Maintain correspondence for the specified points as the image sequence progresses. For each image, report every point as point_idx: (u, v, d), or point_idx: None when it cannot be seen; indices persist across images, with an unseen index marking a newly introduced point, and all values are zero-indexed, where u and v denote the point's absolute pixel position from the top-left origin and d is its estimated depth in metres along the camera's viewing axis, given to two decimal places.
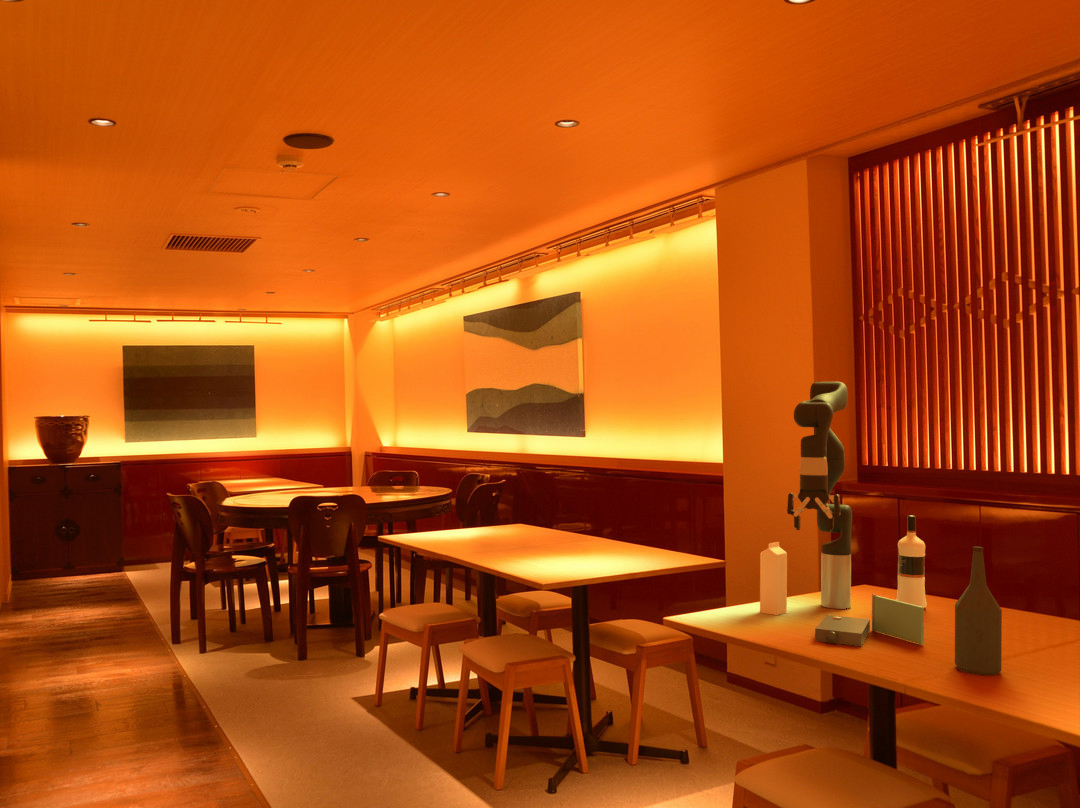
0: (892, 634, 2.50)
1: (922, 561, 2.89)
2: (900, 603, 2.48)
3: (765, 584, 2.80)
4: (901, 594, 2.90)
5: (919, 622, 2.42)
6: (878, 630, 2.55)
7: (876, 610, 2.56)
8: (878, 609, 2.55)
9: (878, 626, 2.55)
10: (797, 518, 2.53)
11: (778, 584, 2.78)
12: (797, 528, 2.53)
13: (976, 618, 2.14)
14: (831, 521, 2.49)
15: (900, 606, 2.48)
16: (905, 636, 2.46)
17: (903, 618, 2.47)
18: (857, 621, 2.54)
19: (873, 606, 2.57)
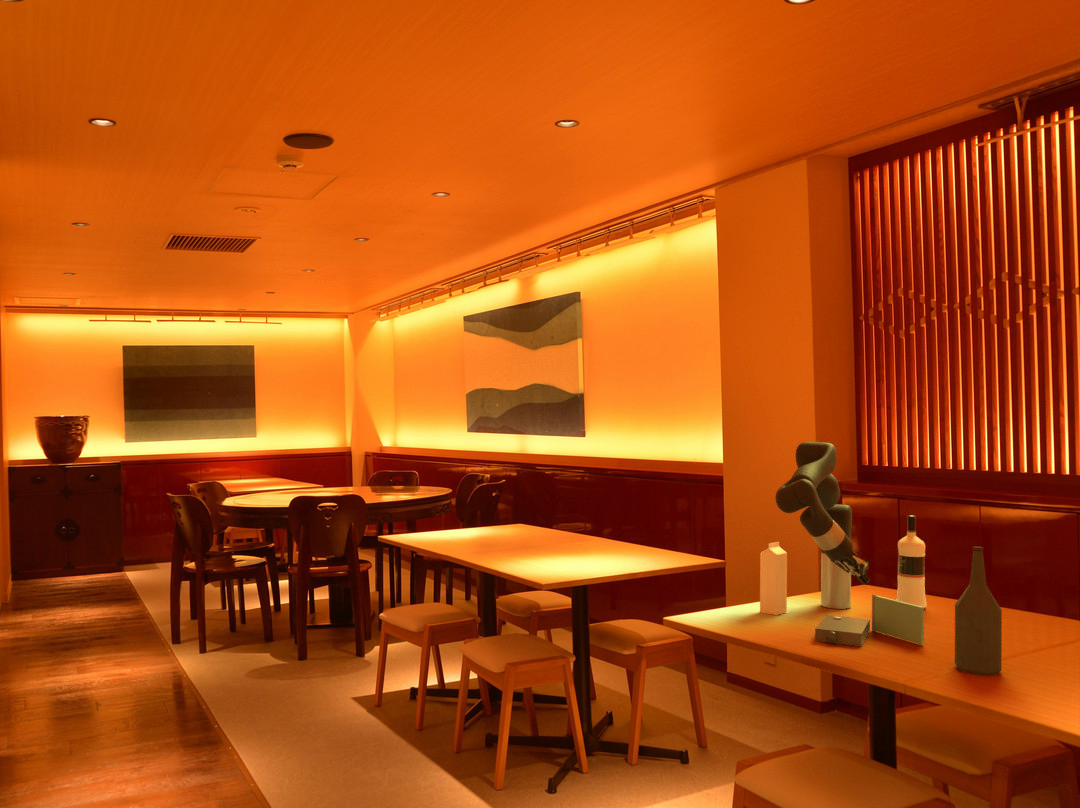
0: (892, 634, 2.50)
1: (922, 561, 2.89)
2: (900, 603, 2.48)
3: (765, 584, 2.80)
4: (901, 594, 2.90)
5: (919, 622, 2.42)
6: (878, 630, 2.55)
7: (876, 610, 2.56)
8: (878, 609, 2.55)
9: (878, 626, 2.55)
10: (856, 576, 2.42)
11: (778, 584, 2.78)
12: (862, 583, 2.42)
13: (976, 618, 2.14)
14: (861, 577, 2.41)
15: (900, 606, 2.48)
16: (905, 636, 2.46)
17: (903, 618, 2.47)
18: (857, 621, 2.54)
19: (873, 606, 2.57)
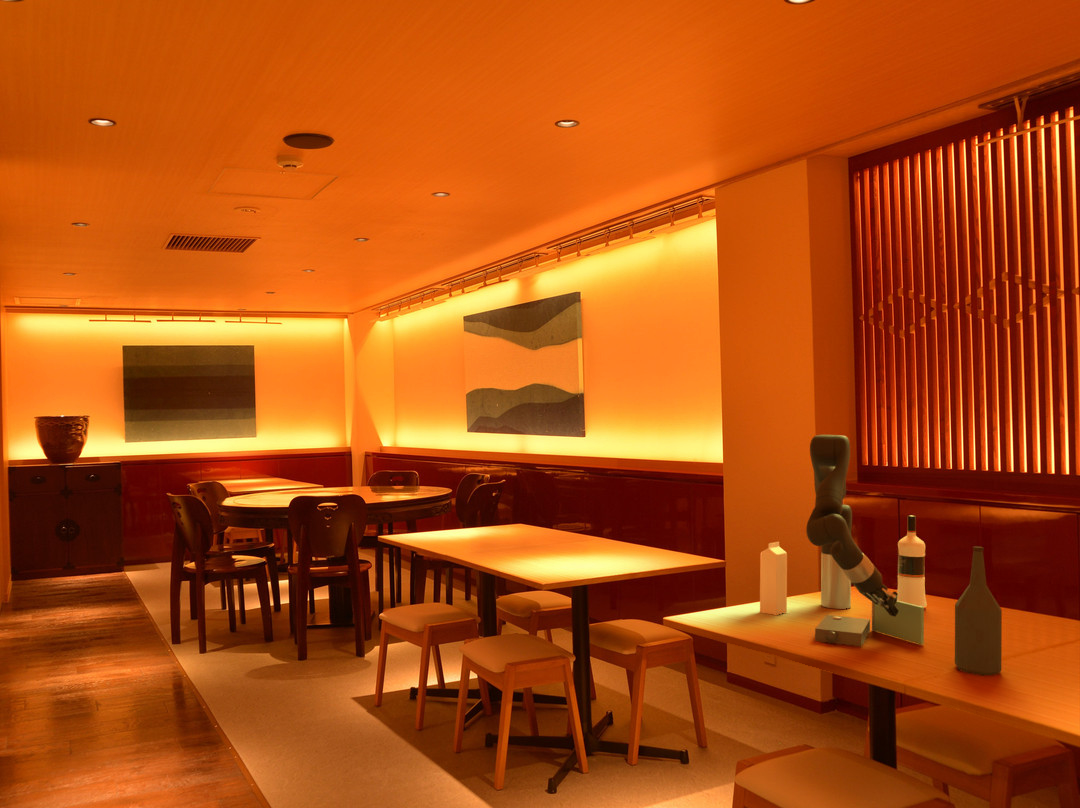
0: (892, 634, 2.50)
1: (922, 561, 2.89)
2: (900, 603, 2.48)
3: (765, 584, 2.80)
4: (901, 594, 2.90)
5: (919, 622, 2.42)
6: (878, 630, 2.55)
7: (876, 610, 2.56)
8: (878, 609, 2.55)
9: (878, 626, 2.55)
10: (885, 608, 2.45)
11: (777, 584, 2.78)
12: (890, 615, 2.46)
13: (976, 618, 2.14)
14: (890, 609, 2.44)
15: (900, 606, 2.48)
16: (905, 636, 2.46)
17: (903, 618, 2.47)
18: (857, 621, 2.54)
19: (873, 606, 2.57)
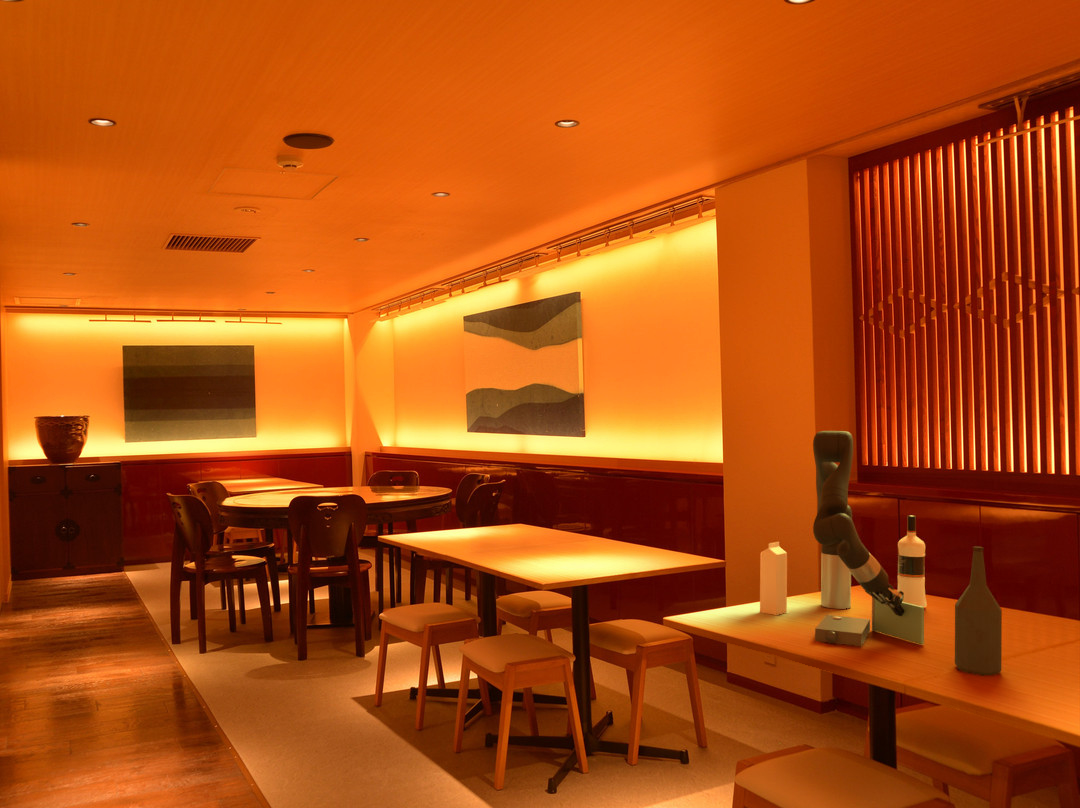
0: (892, 634, 2.50)
1: (922, 561, 2.89)
2: None
3: (765, 584, 2.80)
4: None
5: (919, 622, 2.42)
6: (878, 630, 2.55)
7: (876, 610, 2.56)
8: (878, 609, 2.55)
9: (878, 626, 2.55)
10: (891, 608, 2.46)
11: (778, 584, 2.78)
12: (896, 614, 2.47)
13: (976, 618, 2.14)
14: (896, 609, 2.45)
15: None
16: (905, 636, 2.46)
17: (903, 618, 2.47)
18: (857, 621, 2.54)
19: (873, 606, 2.57)
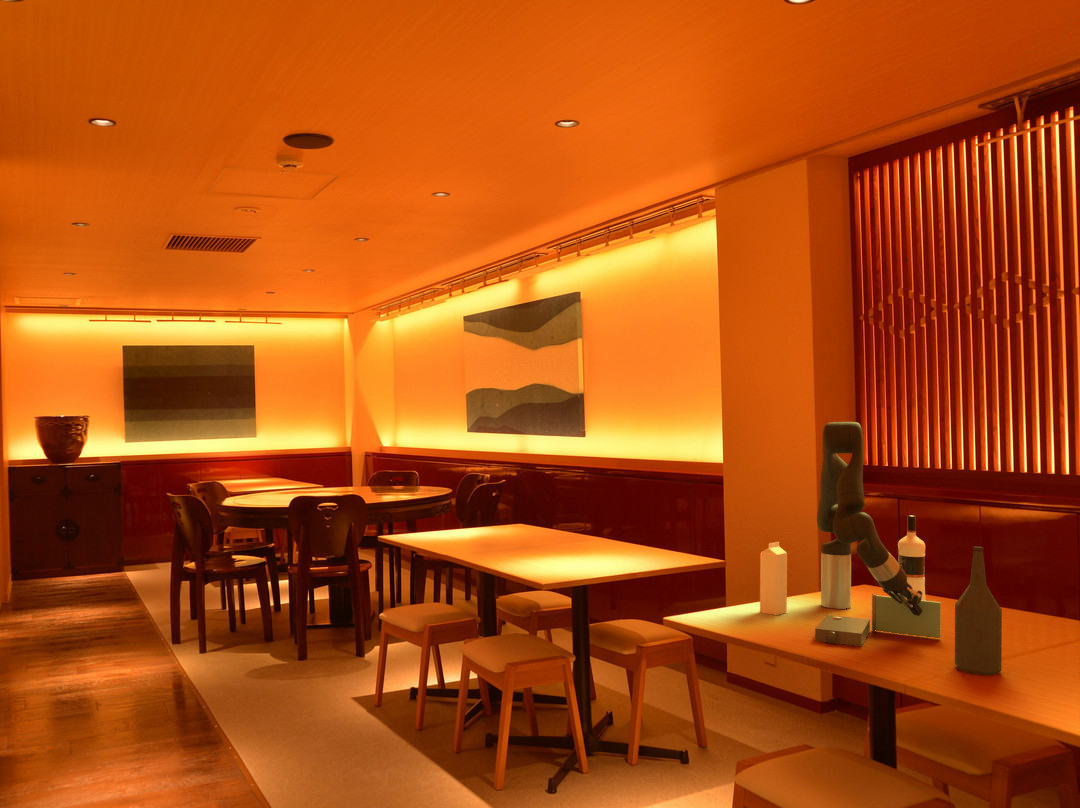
0: (901, 632, 2.53)
1: (922, 561, 2.89)
2: None
3: (765, 584, 2.80)
4: None
5: (937, 617, 2.48)
6: (881, 630, 2.56)
7: (878, 610, 2.56)
8: (881, 609, 2.56)
9: (881, 626, 2.56)
10: (909, 607, 2.49)
11: (778, 584, 2.78)
12: (914, 614, 2.50)
13: (976, 618, 2.14)
14: (914, 608, 2.48)
15: None
16: (918, 632, 2.51)
17: (916, 615, 2.51)
18: (857, 621, 2.54)
19: (874, 606, 2.57)
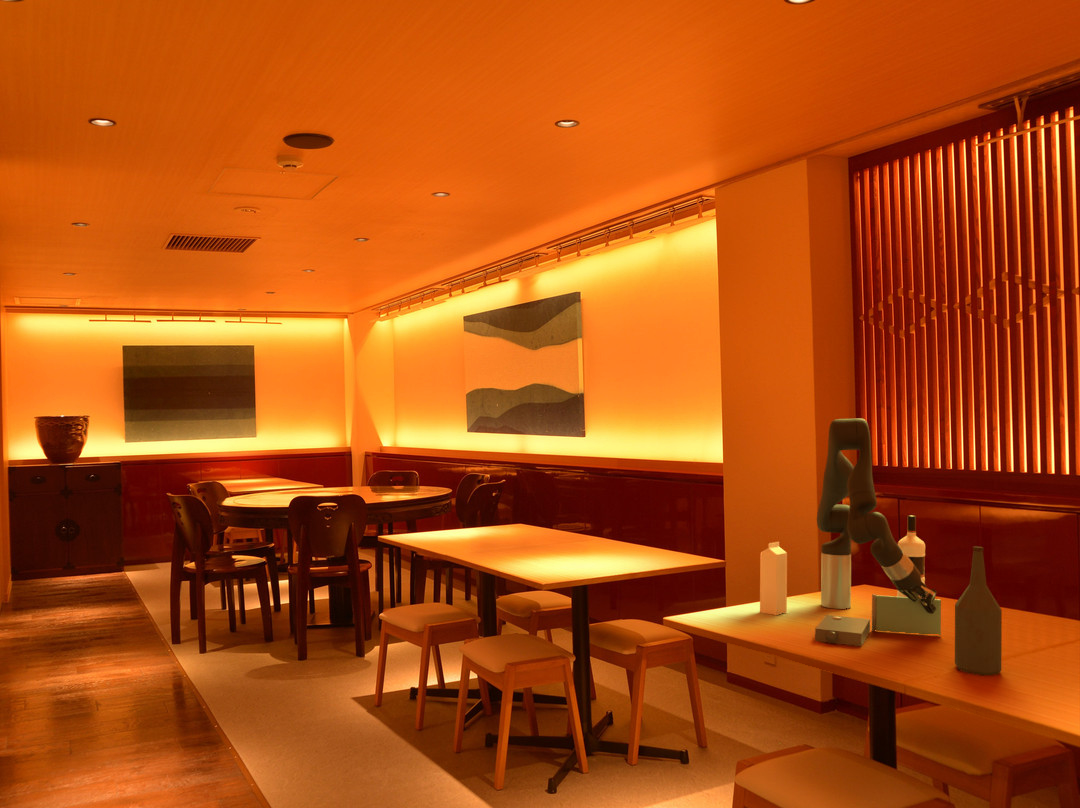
0: (901, 631, 2.55)
1: (922, 561, 2.89)
2: None
3: (765, 584, 2.80)
4: (901, 594, 2.90)
5: (938, 614, 2.52)
6: (882, 629, 2.56)
7: (879, 610, 2.57)
8: (882, 608, 2.56)
9: (882, 625, 2.56)
10: (923, 605, 2.51)
11: (777, 584, 2.78)
12: (928, 612, 2.51)
13: (976, 618, 2.14)
14: (928, 606, 2.50)
15: (912, 602, 2.54)
16: (919, 630, 2.53)
17: (917, 613, 2.54)
18: (857, 621, 2.54)
19: (875, 606, 2.57)
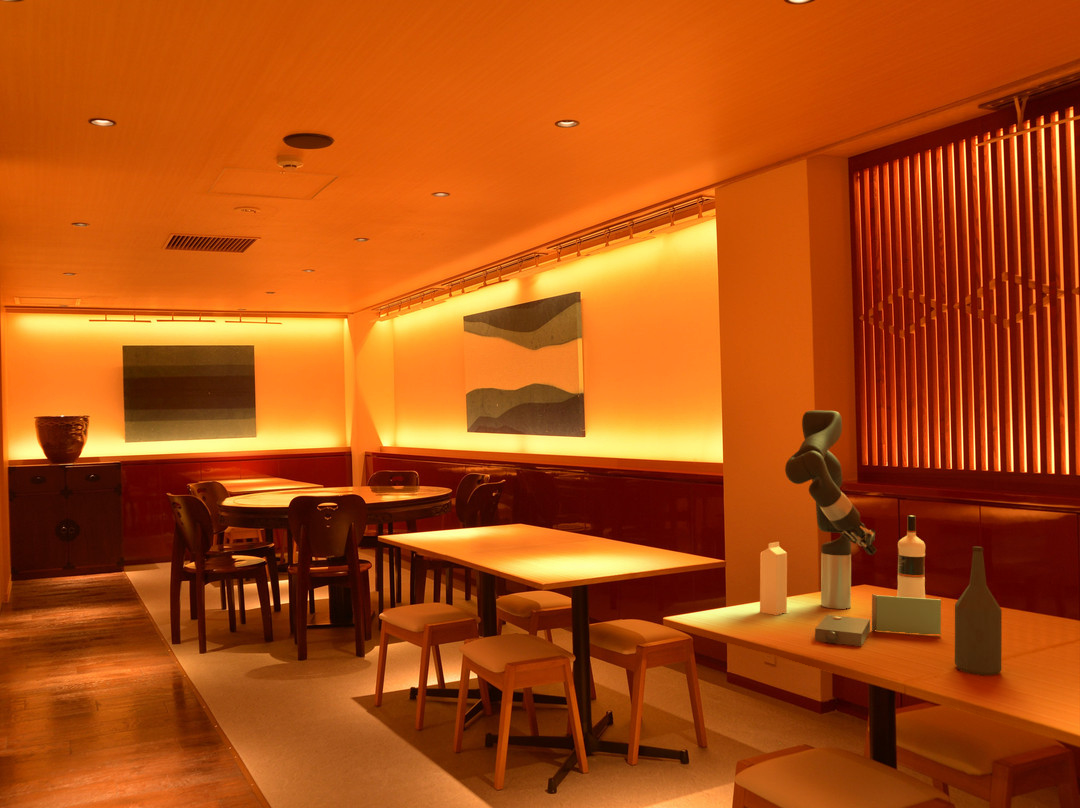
0: (901, 631, 2.55)
1: (922, 561, 2.89)
2: (912, 599, 2.54)
3: (765, 584, 2.80)
4: (901, 594, 2.90)
5: (938, 614, 2.52)
6: (882, 629, 2.56)
7: (879, 610, 2.57)
8: (882, 608, 2.56)
9: (882, 625, 2.56)
10: (863, 547, 2.48)
11: (777, 584, 2.78)
12: None
13: (976, 618, 2.14)
14: (868, 548, 2.47)
15: (912, 602, 2.54)
16: (919, 630, 2.53)
17: (916, 613, 2.54)
18: (857, 621, 2.54)
19: (875, 606, 2.57)
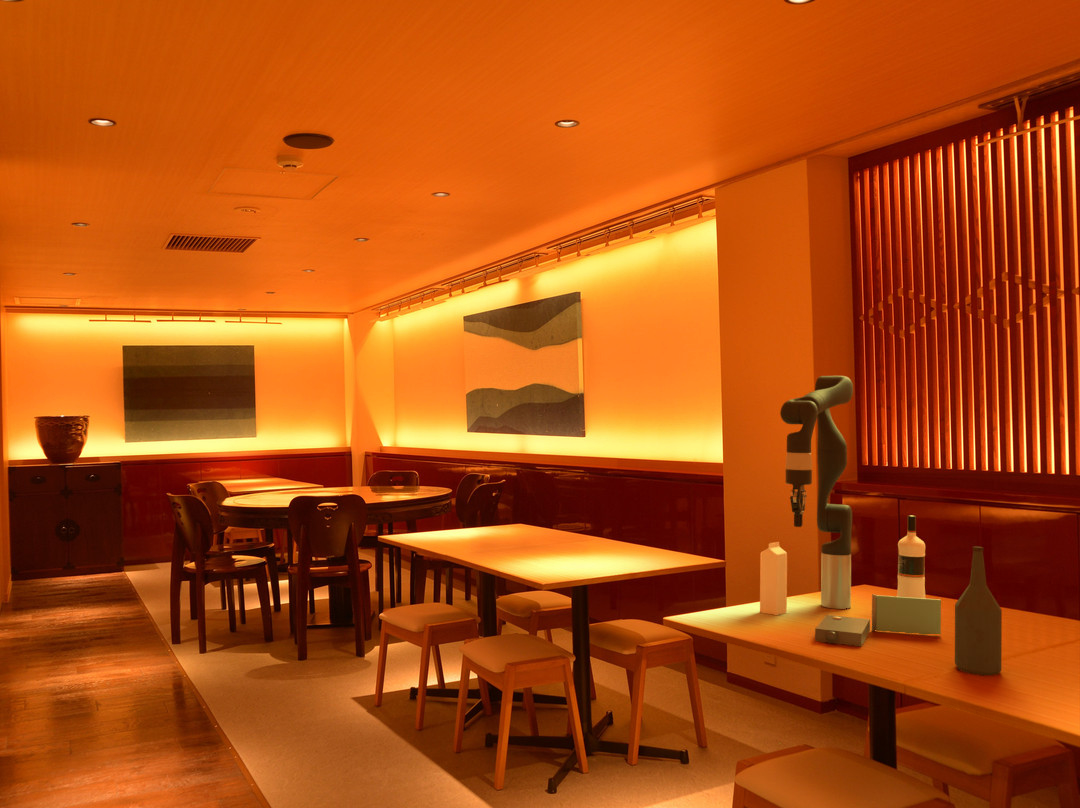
0: (901, 631, 2.55)
1: (922, 561, 2.89)
2: (912, 599, 2.54)
3: (765, 584, 2.80)
4: (901, 593, 2.90)
5: (938, 614, 2.52)
6: (882, 629, 2.56)
7: (879, 610, 2.57)
8: (882, 608, 2.56)
9: (882, 625, 2.56)
10: None
11: (778, 584, 2.78)
12: None
13: (976, 618, 2.14)
14: None
15: (912, 602, 2.54)
16: (919, 630, 2.53)
17: (916, 613, 2.54)
18: (857, 621, 2.54)
19: (875, 606, 2.57)
